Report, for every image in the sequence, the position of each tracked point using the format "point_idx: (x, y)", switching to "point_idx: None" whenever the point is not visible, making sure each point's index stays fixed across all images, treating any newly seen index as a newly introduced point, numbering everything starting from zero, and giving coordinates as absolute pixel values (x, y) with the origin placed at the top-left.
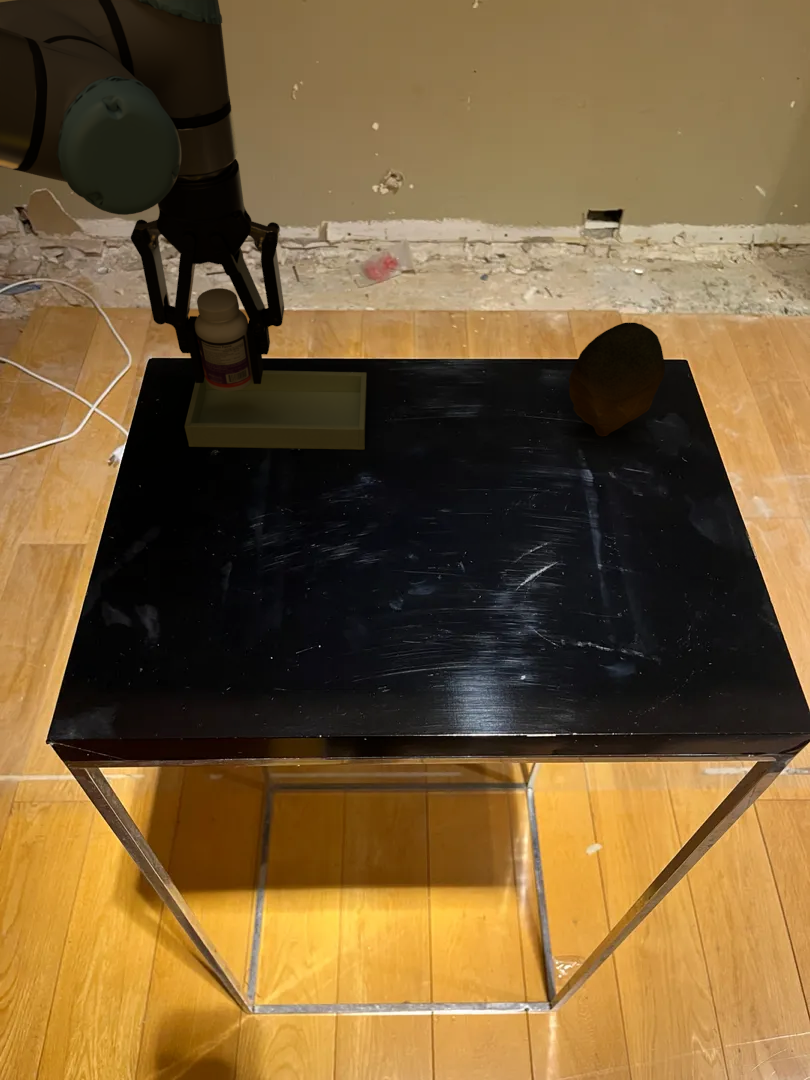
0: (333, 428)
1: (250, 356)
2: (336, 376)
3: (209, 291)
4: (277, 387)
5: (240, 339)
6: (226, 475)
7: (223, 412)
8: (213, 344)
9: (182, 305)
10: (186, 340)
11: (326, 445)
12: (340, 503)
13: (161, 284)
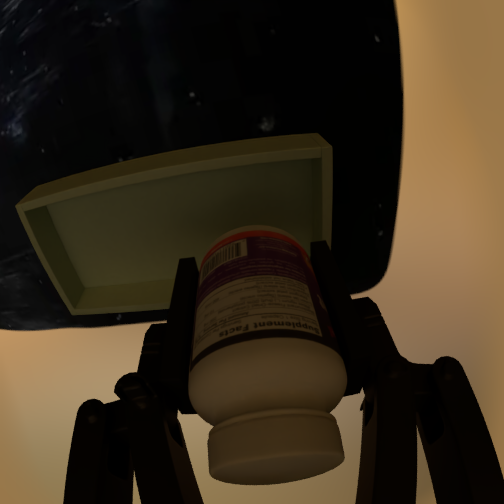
0: (51, 196)
1: (185, 313)
2: (104, 305)
3: (307, 476)
4: None
5: (196, 358)
6: (230, 70)
7: (273, 217)
8: (278, 331)
9: (393, 440)
10: (364, 329)
11: (78, 175)
12: (32, 69)
13: (453, 477)
